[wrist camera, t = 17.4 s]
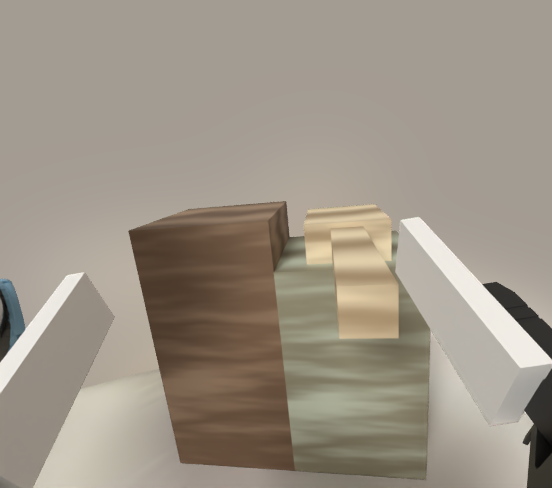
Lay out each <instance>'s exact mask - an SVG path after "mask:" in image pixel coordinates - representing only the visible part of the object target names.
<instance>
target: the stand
mask: <svg viewBox="0 0 552 488" xmlns="http://www.w3.org/2000/svg"><path fill="white" fill-rule="evenodd" d="M129 235H130V240H131V244H132V249H133V253H134V258H135V262H136V266H137V271H138V275H139V280H140V284H141V288H142V293H143V297H144V302H145V307H146V311H147V315H148V320H149V324H150V329H151V333H152V338H153V342H154V347H155V351H156V356H157V360H158V364H159V369H160V373H161V378H162V382H163V387H164V391H165V396H166V400H167V405H168V409H169V413H170V418H171V422H172V427H173V431H174V436H175V440H176V445H177V449H178V454H179V458H180V462H181V463H189V464H204V465H218V466H233V467H248V468H263V469H277V470H292V471H307V472H321V473H336V474H351V475H366V476H380V477H395V478H410V479H425V480H426V462H427V428H428V394H429V359H430V328H429V326H428V324H427V323H426V321H425V320H424V318H423V316H422V315H421V313H420V311H419V310H418V308H417V307H416V305H415V303H414V302H413V300H412V298H411V297H410V295H409V293H408V292H407V290H406V289H405V287H404V285H403V284H402V282H401V280H400V279H399V277H398V276H397V274H396V272H395V270H396V259H397V249H398V238H399V233H398V232H396V231H391V260H392V261H385V263H386V264H387V266H388V268H389V269H390V271H391V273H392V274H393V276H394V278H395V279H396V281H397V283H398V284H399V338H374V339H339V329H338V318H337V307H336V296H335V285H334V273H333V263H329V264H308V265H307V261H306V248H305V236H302V237H289V227H288V217H287V205H286V201H283V202H270V203H258V204H246V205H234V206H223V207H210V208H198V209H188V210H186V211H183V212H180V213H177V214H174V215H171V216H168V217H166V218H163V219H160V220H157V221H154V222H152V223H149V224H146V225H143V226H141V227H138V228H135V229H133V230H129Z"/></svg>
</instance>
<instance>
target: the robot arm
mask: <svg viewBox="0 0 552 488" xmlns="http://www.w3.org/2000/svg"><path fill="white" fill-rule="evenodd" d="M395 272H396V274H397V276H398V277H399V279H400V280H401V282H402V284H403V285H404V287H405V289H406V290H407V292H408V293H409V295H410V297H411V298H412V300H413V302H414V303H415V305H416V307H417V308H418V310H419V311H420V313H421V315H422V316H423V318H424V320H425V321H426V323H427V324H428V326H429V328H430V329H431V331H432V333H433V334H434V336H435V338H436V339H437V341H438V342H439V344H440V346H441V347H442V349H443V351H444V352H445V354H446V355H447V357H448V359H449V360H450V362H451V364H452V365H453V367H454V369H455V370H456V372H457V373H458V375H459V377H460V378H461V380H462V382H463V383H464V385H465V386H466V388H467V390H468V391H469V393H470V395H471V396H472V398H473V400H474V401H475V403H476V404H477V406H478V408H479V409H480V411H481V413H482V414H483V416H484V417H485V419H486V421H487V422H488V424H489V426H494V425H501V424H508V423H515V422H518V421H519V419H520V418H521V416H522V415H523V413H524V411H525V412H526V413H527V415H528V416H529V417H530V419H531V420H532V421H533V423H534V424H533V426H532V427H531V429H530V430H529V432H528V433H527V435H526V436H525V438H524V441H523V443H524V444H526V445H528V444H529V443H530V441H531V443H530V456H529V468H528V480H527V488H552V328H550V326H549V325H548V324H547V323H546V322H544V321H543V320H542V319H540V318H539V317H538V315H537V314H536V313H535V312H534V311H533V310H532V309H531V308H528V306H527V304H526V303H525V302H524V301H523V300H522V299H521V298H520V297H519V296H518V295H517V294H516V293H515V292H513V291H511V290H510V289H508V288H506V287H504V286H503V285H501V284H499V283H497V282H493V283H487V284H481V283H480V282H479V281H478V280H477V279H476V278H475V276H474V275H473V274H472V273H471V272H470V271H469V270H468V269H467V268H466V267H465V266H464V265H463V264H462V263H461V261H460V260H459V259H458V258H457V257H456V256H455V255H454V254H453V253H452V252H451V251H450V250H449V249H448V247H447V246H446V245H445V244H444V243H443V242H442V241H441V240H440V239H439V238H438V237H437V236H436V234H435V233H434V232H433V231H432V230H431V229H430V228H429V227H428V226H427V225H426V224H425V223H424V222H423V220H422V219H421V218H420V217H416V218H410V219H404V220H400V228H399V238H398V249H397V259H396V270H395ZM113 320H114V315H113V314H112V312H111V311H110V309H109V308H108V306H107V305H106V303H105V302H104V300H103V299H102V297H101V296H100V294H99V293H98V291H97V290H96V288H95V287H94V285H93V284H92V282H91V281H90V279H89V278H88V276H87V275H86V273H85V272H83V273H77V274H72V275H67V276H66V277H65V278H64V280H63V281H62V282H61V284H60V285H59V286H58V288H57V289H56V290H55V292H54V293H53V294H52V296H51V297H50V298H49V299H48V301H47V302H46V304H45V305H44V306H43V307H42V309H41V310H40V311H39V313H38V314H37V315H36V317H35V318H34V319H33V320H32V322H31V323H30V324H29V326H28V327H27V328H26V330H25V324H24V319H23V315H22V312H21V308H20V304H19V300H18V297H17V294H16V291H15V288H14V286H13V285H12V282H11V281H10V280H8V279H0V488H33V486H34V484H35V482H36V480H37V478H38V476H39V474H40V472H41V469H42V467H43V465H44V463H45V461H46V459H47V457H48V455H49V453H50V451H51V449H52V447H53V444H54V442H55V440H56V438H57V436H58V434H59V432H60V430H61V428H62V426H63V424H64V422H65V419H66V417H67V415H68V413H69V411H70V409H71V407H72V405H73V403H74V401H75V399H76V397H77V394H78V392H79V390H80V388H81V386H82V384H83V382H84V380H85V378H86V376H87V373H88V372H89V369H90V367H91V365H92V363H93V361H94V359H95V357H96V355H97V353H98V351H99V349H100V346H101V344H102V342H103V340H104V338H105V336H106V334H107V332H108V330H109V328H110V326H111V324H112V322H113Z"/></svg>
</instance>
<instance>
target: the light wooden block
mask: <svg viewBox="0 0 552 488" xmlns="http://www.w3.org/2000/svg"><path fill="white" fill-rule="evenodd" d="M304 235H305V248H306V261H307V265H308V264H329V263H333V273H334V285H335V296H336V307H337V318H338V329H339V339H374V338H399V284H398V283H397V281H396V279H395V278H394V276H393V274H392V273H391V271H390V269H389V268H388V266H387V264H386V263H385V261H392V260H391V218H390V217H388V216H387V215H386V214H385V213H384V212H383V211H381V210H380V209H379V208H378V207H377V206H375V205H374V204H369V205H356V206H343V207H330V208H318V209H308V213H307V216H306V219H305V222H304Z"/></svg>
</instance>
